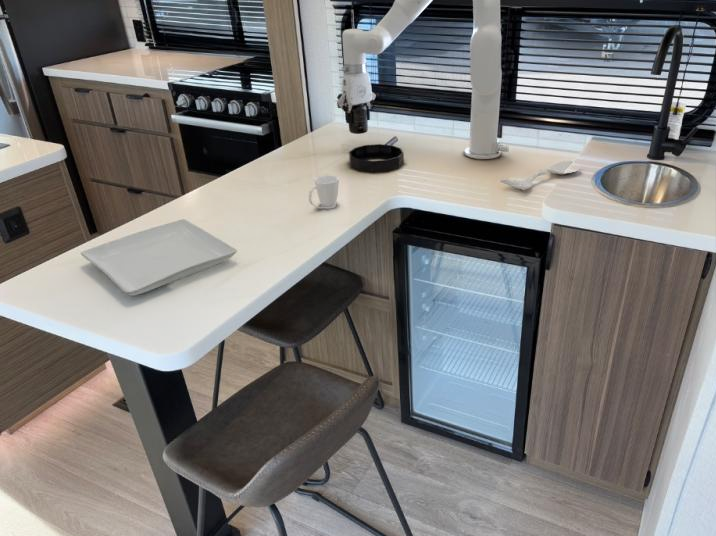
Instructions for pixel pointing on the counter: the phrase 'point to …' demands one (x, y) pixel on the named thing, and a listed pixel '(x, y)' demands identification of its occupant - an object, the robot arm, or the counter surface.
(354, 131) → the supplement bottle
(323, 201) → the cup
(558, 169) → the spoon
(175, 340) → the counter surface
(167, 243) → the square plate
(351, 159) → the pan
